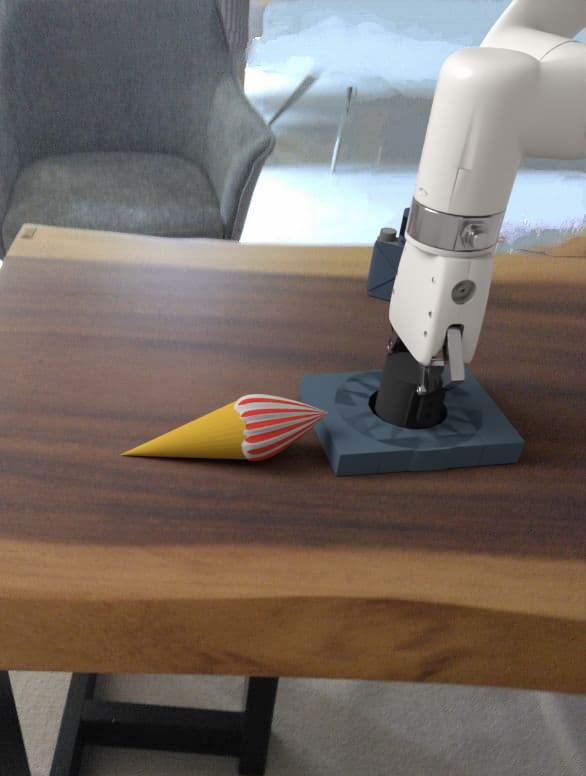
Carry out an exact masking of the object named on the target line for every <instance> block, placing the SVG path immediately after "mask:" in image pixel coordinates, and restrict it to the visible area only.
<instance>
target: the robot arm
mask: <svg viewBox="0 0 586 776" xmlns="http://www.w3.org/2000/svg"><path fill="white" fill-rule="evenodd" d="M585 29H586V0H512V1H511V2H510V4H508V5H507V7H506V9H505V10H504V11H503V12H502V13H501V15H500V16H499V18H498V19H497V20H496V21H495V22H494V24H493V25H492V27H491V28H490V29H489V31H488V32H487V34H486V35H485V37H484V38H483V40H482V41H481V43H480V44H479V46H475V47H473V46H472V47H467V48H463V49H459V50H456V51H454V52H453V53H451V54H450V55H449V56H448V57H447V58H446V59H445V60H444V61H443V64H442V65H441V68H440V70H439V74H438V77H437V80H436V81H437V82H436V85H435V90H434V95H433V100H432V105H431V109H430V114H429V118H428V122H427V126H426V132H425V137H424V142H423V146H422V151H421V155H420V156H421V157H420V159H419V164H418V170H417V175H416V180H415V184H414V189H413V194H412V198H411V203H410V211H409V216H408V221H407V225H406V230H405V239H406V243H405V246H404V250H403V253H402V256H401V260H400V264H399V267H398V271H397V275H396V279H395V283H394V287H393V292H392V296H391V301H389V302H390V303H389V310H388V318H389V322H390V323H389V325H390V328H391V335H390V336H389V339H388V341H387V350H388V351H389V352H387V354H386V359H387V358H388V357H389V356H391V355H393V354H396V353H400V352H411V354H412V355H413V356H414V358H415V359H416V360H417V361H418V362H419V365H418V378H417V389H412V391H411V395H410V399H409V403H408V407H407V411H406V415H405V419H404V425H405V427H406V428H417V429H424V428H431V427H434V426H437V425H438V420H439V417H440V413H441V410H442V406H443V403H444V399H445V396H446V394H449V392H450V390H451V389H453V388H454V387H455V386H457V385H459V384H461V383H463V382H464V379H465V373H464V366H465V365H469V364H470V363H471V362H472V360H473V359H474V355H475V354H476V353H475V352H476V350H477V347H478V346H477V345H478V342H479V339H480V334H481V330H482V327H483V322H484V318H485V314H486V309H487V306H488V305H487V304H488V300H489V295H490V289H491V283H492V274H493V268H494V267H493V265H494V255H493V253H492V252H493V251H494V250H495V249H496V246H497V242H498V239H499V236H500V232H501V228H502V225H503V222H504V219H505V215H506V212H507V208H508V205H509V202H510V198H511V194H512V191H513V187H514V184H515V182H516V177H517V174H518V171H519V167H520V164H521V162H522V161H524V160H525V159H527V158H529V159H530V158H531V159H546V160H558V161H576V160H577V161H578V160H584V159H586V43H584V42H581V41H579V40H577V39H574V38H575V37H576V36H577V35H578V34H579V33H580V32H582V31H583V30H585ZM438 353H442V357H436V356H437V355H438ZM432 356H433V357H435V358H432ZM386 359H385V360H386ZM429 367H441V375H439V376H434V377H432V378H431V379H429V380H428V378H429ZM423 427H424V428H423Z"/></svg>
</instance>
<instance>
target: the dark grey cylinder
mask: <svg viewBox="0 0 586 776" xmlns="http://www.w3.org/2000/svg"><path fill="white" fill-rule="evenodd" d="M386 358H387V357H386ZM432 358H436V356H432ZM418 365H419V362H418V361H417V360H416V359H415V358H414V356H413V355H412V354H411V352H400V353H396V354H393V355H391V356H389V357H388V358H387V359H385V361H384V365H383V369H382V370H383V373H382V377H381V382H380V387H379V391H378V396H377V400H376V405H375V410H374V411H375V413H376V416H377V417H379V418H380V419H381V420H383V421H384V422H387V423H389V424H392V425H395V426H397V427H401V428H406V427H405V425H404V419H405V415H406V411H407V407H408V403H409V399H410V395H411V391H412V389H417V378H418ZM439 375H441V367H429V378H428V380H429V379H431V378H432V377H434V376H439ZM408 429H418V428H408ZM422 429H425V427H423V428H422Z"/></svg>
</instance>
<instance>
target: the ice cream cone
mask: <svg viewBox="0 0 586 776" xmlns="http://www.w3.org/2000/svg"><path fill="white" fill-rule="evenodd" d="M327 413H328V412H325V411H323V410H320V409H318V408H315V407H312V406H310V405H307V404H304V403H302V402H300V401H296V400H293V399H289V398H285V397H281V396H277V395H271V394H262V393H253V394H252V393H251V394H247V395H243V396H241V397H240V398H238V399H237V400H235V401H233V402H231V403H229V404H226V405H224V406H222V407H220V408H218V409H215V410H213V411H211V412H208V413H207V414H205V415H203V416H201V417H198V418H196V419H194V420H192V421H190V422H188V423H186V424H183V425H181V426H179V427H177V428H175V429H172V430H170V431H168V432H166V433H164V434H162V435H160V436H157V437H155V438H153V439H151V440H148V441H147V442H144V443H143V444H141V445H138V446H136V447H134V448H132V449H130V450H127V451H125V452H123V453H121V454H120V456H131V457H161V458H163V457H164V458H195V459H222V460H223V459H224V460H225V459H227V460H228V459H230V460H248V461H252V462H260V461H264V460H267V459H270V458H271V457H274V456H276V455H278V454H279V453H280V452H283V451H284V450H285V449H287V448H288V447H289V446H291V445H292V444H294V443H296V441H298V440H300V439H301V438H302V437H303V436H304V435H306V434H307V433H308V432H309V431H311V429H313V428H314V427H313V426H315V425H316V424H317V423H318V422H319V421H320V420H321V419H322V418H323V417H324V416H325V415H326V414H327Z"/></svg>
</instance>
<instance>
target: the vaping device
mask: <svg viewBox="0 0 586 776" xmlns="http://www.w3.org/2000/svg"><path fill="white" fill-rule="evenodd" d="M410 207H411V206H410ZM410 207H405V208H403V209H404V210H403V214H402V219H401V224H400V227H399V233H398V231H397V230H396V229H395V228H393V227H382V228H380V231H379V235H378V236H377V237H376V240H375V241H374V242H373V243H374V244H373V249H372V253H371V259H370V265H369V270H368V275H367V280H366V287H365V288H366V293H367V295H368V296H370V297H373V298H375V299H381V300H383V301H384V300H385V301H387V302H391V296H392V292H393V287H394V283H395V279H396V275H397V271H398V267H399V264H400V260H401V256H402V253H403V250H404V246H405V243H406V239H405V230H406V225H407V221H408V216H409V211H410ZM397 233H398V234H397ZM397 235H398V236H397Z"/></svg>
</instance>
